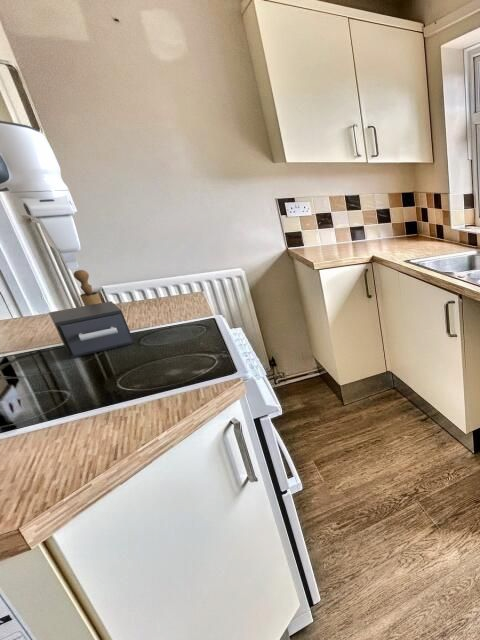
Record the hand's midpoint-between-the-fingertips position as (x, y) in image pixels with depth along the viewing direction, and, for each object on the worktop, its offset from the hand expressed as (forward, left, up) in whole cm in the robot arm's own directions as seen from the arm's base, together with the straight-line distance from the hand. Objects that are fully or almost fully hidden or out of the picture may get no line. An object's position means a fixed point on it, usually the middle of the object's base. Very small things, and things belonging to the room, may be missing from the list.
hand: (73, 268), depth 96 cm
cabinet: (0, +17, -23) cm, 29 cm away
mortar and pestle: (+3, +32, -23) cm, 40 cm away
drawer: (0, +13, -22) cm, 26 cm away
